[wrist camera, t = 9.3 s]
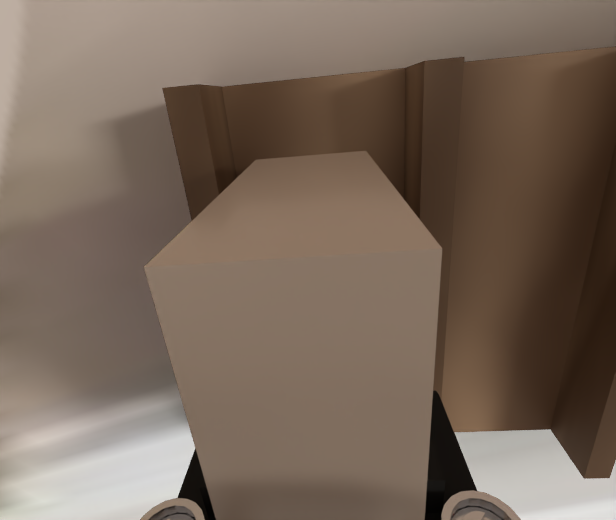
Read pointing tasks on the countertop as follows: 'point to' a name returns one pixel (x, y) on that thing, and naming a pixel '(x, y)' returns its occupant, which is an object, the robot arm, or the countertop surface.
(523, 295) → the walnut rack
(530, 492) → the countertop surface
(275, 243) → the beige rectangular block
